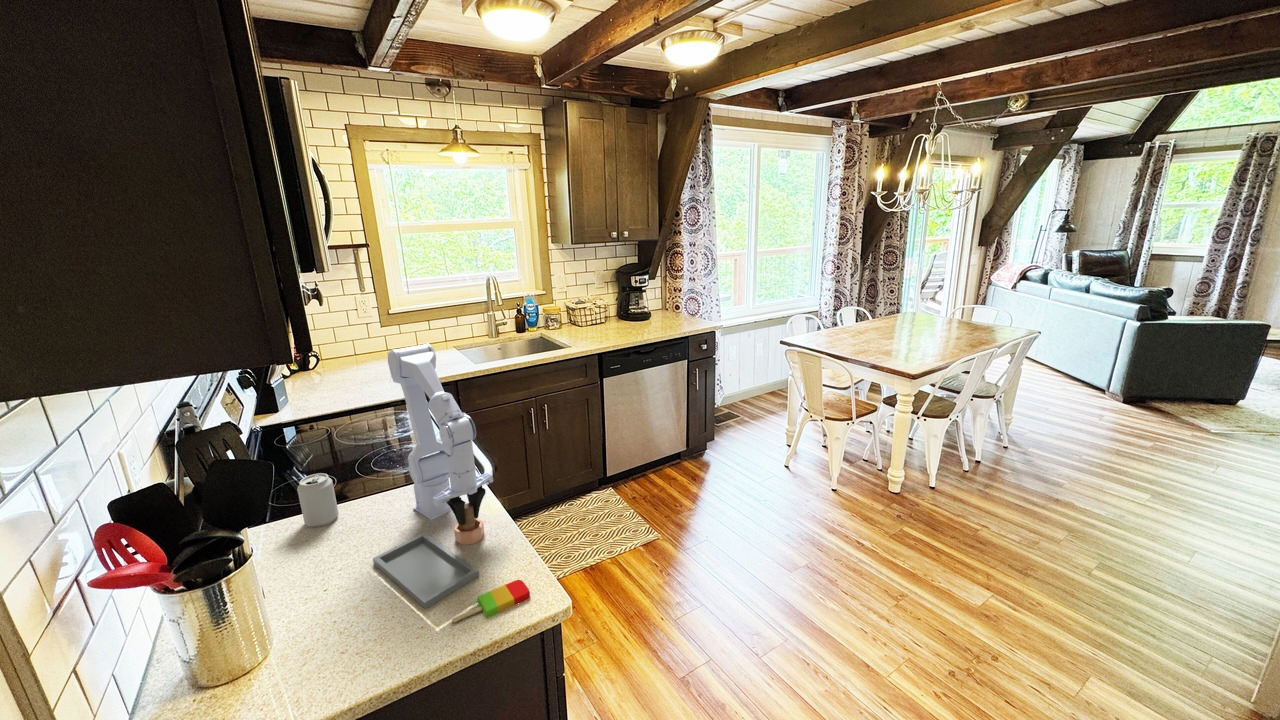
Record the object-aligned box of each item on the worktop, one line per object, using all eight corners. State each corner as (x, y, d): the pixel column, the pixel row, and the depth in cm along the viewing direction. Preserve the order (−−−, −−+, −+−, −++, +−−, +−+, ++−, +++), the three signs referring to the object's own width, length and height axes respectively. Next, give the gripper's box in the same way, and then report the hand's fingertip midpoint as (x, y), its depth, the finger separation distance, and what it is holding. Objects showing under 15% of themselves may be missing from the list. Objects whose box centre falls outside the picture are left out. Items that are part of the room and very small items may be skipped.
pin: (460, 536, 121) (457, 507, 118) (471, 531, 123) (468, 501, 121) (468, 541, 119) (464, 511, 117) (479, 535, 121) (475, 506, 119)
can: (298, 529, 125) (288, 486, 122) (316, 512, 133) (307, 471, 129) (329, 528, 126) (320, 485, 122) (344, 512, 133) (337, 470, 130)
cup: (451, 539, 120) (449, 526, 120) (474, 527, 125) (472, 515, 124) (466, 549, 117) (464, 536, 116) (488, 536, 121) (487, 523, 120)
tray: (374, 566, 112) (372, 558, 111) (425, 539, 121) (424, 532, 120) (425, 611, 98) (424, 602, 98) (479, 578, 107) (478, 570, 107)
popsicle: (532, 599, 102) (531, 591, 101) (456, 634, 93) (455, 626, 93) (521, 584, 106) (520, 576, 105) (448, 616, 98) (447, 608, 97)
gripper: (442, 486, 108) (449, 541, 112) (498, 461, 119) (503, 512, 123) (425, 476, 112) (432, 529, 116) (481, 453, 123) (486, 502, 127)
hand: (468, 520), depth 120 cm, fingers closed on pin, 3 cm apart
